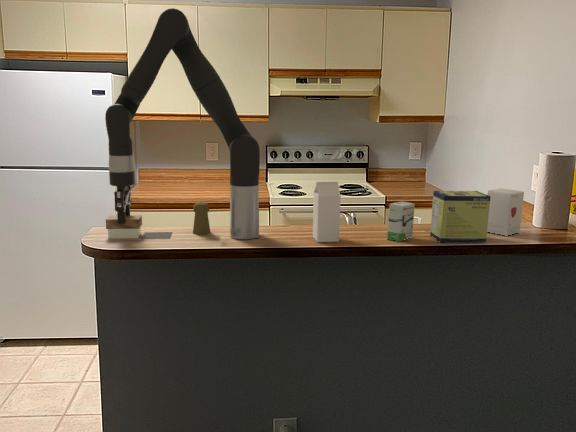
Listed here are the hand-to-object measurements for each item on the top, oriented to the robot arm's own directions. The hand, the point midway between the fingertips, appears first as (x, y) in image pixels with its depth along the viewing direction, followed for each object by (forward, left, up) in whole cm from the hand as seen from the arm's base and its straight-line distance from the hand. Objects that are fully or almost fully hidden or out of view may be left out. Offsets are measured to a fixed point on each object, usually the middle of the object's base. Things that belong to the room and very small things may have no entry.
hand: (124, 220), depth 166 cm
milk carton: (-64, +5, -6) cm, 64 cm away
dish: (0, 0, -6) cm, 6 cm away
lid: (0, 0, -2) cm, 2 cm away
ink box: (-89, +5, -6) cm, 89 cm away
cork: (-24, -3, -6) cm, 25 cm away
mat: (-10, 0, -6) cm, 12 cm away
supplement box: (-128, -1, -6) cm, 128 cm away
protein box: (-108, +7, -6) cm, 108 cm away
